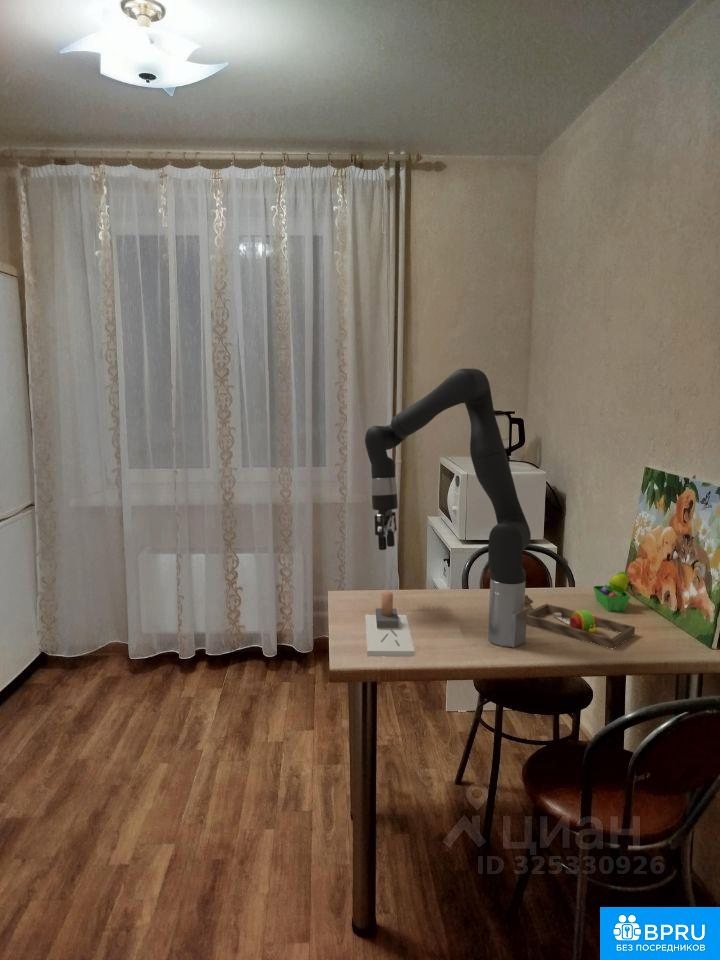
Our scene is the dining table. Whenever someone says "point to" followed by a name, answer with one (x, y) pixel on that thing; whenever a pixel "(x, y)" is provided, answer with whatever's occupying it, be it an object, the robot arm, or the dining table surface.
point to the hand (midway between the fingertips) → (386, 548)
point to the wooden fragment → (527, 602)
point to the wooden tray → (577, 633)
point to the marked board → (388, 639)
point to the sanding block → (387, 613)
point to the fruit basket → (613, 593)
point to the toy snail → (581, 621)
